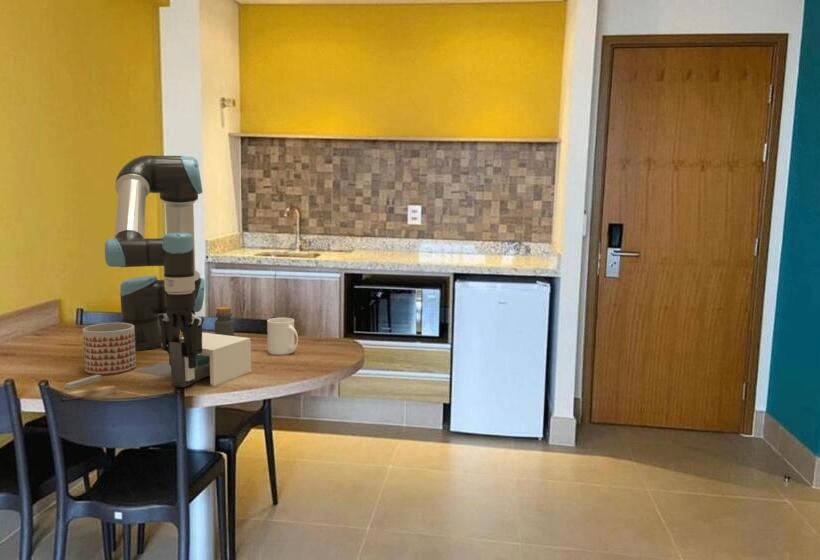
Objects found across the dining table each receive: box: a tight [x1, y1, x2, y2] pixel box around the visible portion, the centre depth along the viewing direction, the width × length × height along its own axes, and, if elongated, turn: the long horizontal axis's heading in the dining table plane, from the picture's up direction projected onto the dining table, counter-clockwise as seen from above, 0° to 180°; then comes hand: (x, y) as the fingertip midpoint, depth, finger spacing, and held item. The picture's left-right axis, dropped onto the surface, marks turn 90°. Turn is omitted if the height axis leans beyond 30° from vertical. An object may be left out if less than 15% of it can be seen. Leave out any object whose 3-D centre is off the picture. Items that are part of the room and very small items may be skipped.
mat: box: [133, 362, 172, 379], centre depth 191 cm, size 22×11×1 cm, turn 66°
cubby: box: [167, 331, 252, 387], centre depth 187 cm, size 18×16×10 cm
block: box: [196, 354, 210, 367], centre depth 187 cm, size 5×5×5 cm
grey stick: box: [64, 375, 103, 390], centre depth 179 cm, size 2×10×2 cm, turn 156°
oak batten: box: [63, 385, 117, 398], centre depth 168 cm, size 12×2×2 cm, turn 124°
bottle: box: [214, 306, 235, 336], centre depth 213 cm, size 6×6×15 cm
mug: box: [266, 317, 299, 356], centre depth 215 cm, size 9×12×11 cm
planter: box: [82, 322, 137, 376], centre depth 193 cm, size 14×14×13 cm
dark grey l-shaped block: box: [169, 337, 210, 388], centre depth 181 cm, size 4×18×12 cm, turn 156°
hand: (183, 378), depth 176 cm, fingers closed on dark grey l-shaped block, 4 cm apart
